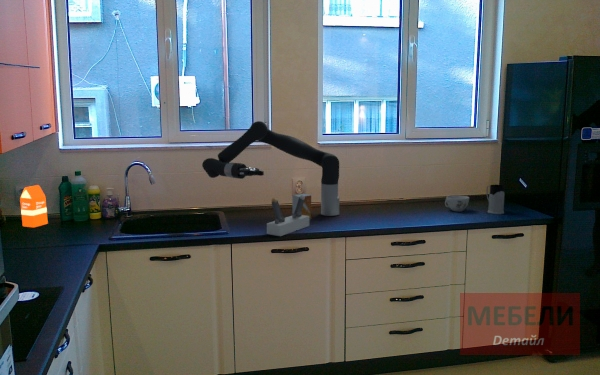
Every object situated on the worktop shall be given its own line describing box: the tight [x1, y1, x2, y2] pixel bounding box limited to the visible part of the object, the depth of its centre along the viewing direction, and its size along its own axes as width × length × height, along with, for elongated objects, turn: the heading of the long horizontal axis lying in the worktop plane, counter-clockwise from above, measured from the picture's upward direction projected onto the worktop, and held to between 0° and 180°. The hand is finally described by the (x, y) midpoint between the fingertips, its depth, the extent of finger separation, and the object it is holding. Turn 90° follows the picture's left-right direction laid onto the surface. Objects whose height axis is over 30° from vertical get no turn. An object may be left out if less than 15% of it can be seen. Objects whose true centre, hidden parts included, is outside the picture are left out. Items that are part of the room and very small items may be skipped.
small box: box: [291, 193, 312, 221], centre depth 274 cm, size 8×6×13 cm
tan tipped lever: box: [271, 197, 284, 222], centre depth 247 cm, size 3×4×12 cm
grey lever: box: [294, 195, 305, 217], centre depth 256 cm, size 3×4×12 cm
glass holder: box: [485, 184, 506, 215], centre depth 292 cm, size 9×14×15 cm, turn 14°
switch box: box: [266, 212, 310, 237], centre depth 253 cm, size 8×24×7 cm, turn 145°
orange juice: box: [19, 184, 49, 228], centre depth 263 cm, size 8×9×20 cm
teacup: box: [444, 194, 471, 212], centre depth 294 cm, size 15×12×8 cm
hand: (262, 173), depth 249 cm, fingers closed
